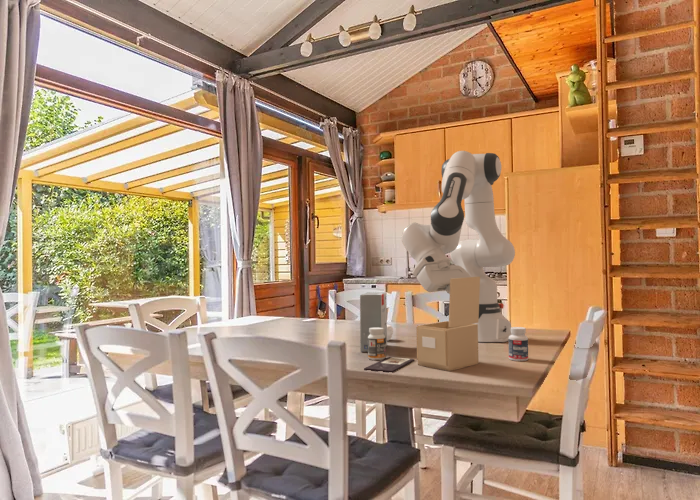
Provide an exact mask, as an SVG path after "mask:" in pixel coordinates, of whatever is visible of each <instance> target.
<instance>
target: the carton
mask: <svg viewBox="0 0 700 500" xmlns="http://www.w3.org/2000/svg"><path fill="white" fill-rule="evenodd" d="M415 330H416V360H417V365H418V366H421V367H426V368H430V369H437V370H442V371H448V372H452V371H455V370H459V369H462V368H463V369H464V368H468V367H471V366H476V365H479V363H480V362H479V342H478V324H467V325H461V326H455V327H449V320H445V321H439V322H432V323H425V324H419V325H417V326H416V329H415Z"/></svg>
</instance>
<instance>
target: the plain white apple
mask: <svg viewBox="0 0 700 500" xmlns="http://www.w3.org/2000/svg"><path fill="white" fill-rule="evenodd" d="M393 335H394V328H393V326H392V325H391V324H387V342H388V341H390V340H391V338H392V337H393Z"/></svg>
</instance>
